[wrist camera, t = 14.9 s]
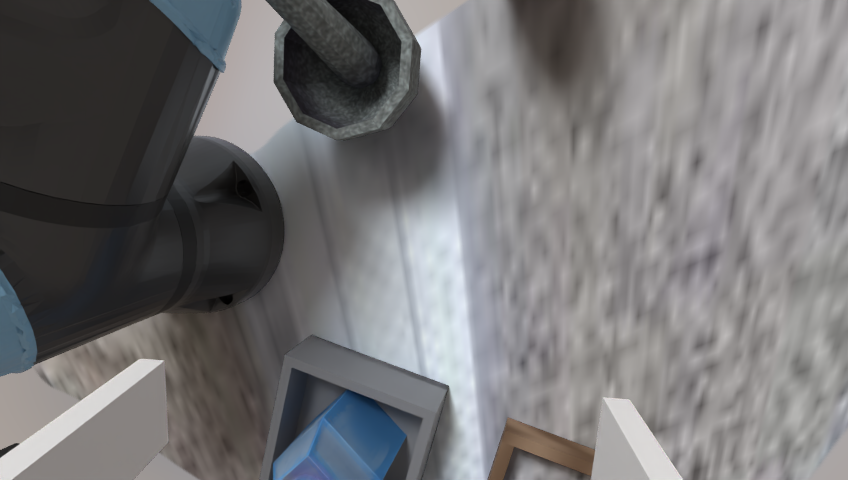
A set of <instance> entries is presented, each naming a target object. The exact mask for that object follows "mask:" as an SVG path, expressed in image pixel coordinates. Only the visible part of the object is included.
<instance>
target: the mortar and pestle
mask: <svg viewBox="0 0 848 480" xmlns="http://www.w3.org/2000/svg"><path fill="white" fill-rule="evenodd" d="M266 1H267V2H268V3H269V4H270V5H271V6H272V7H273V9H274V10H275V11H276V12H277V13H278V14H279V15H280V16H281V17H282V18H283V19H284V21H283V22H282V24H281V25H280V27H279V28H278V30H277V31H276V33H275V50H274V52H275V53H274V84H275V85H276V87H277V89H278V90H279V92H280V94H281V96H282V98H283V99H284V101H285V103H286V104H287V106H288V108H289V109H290V111H291V113H292V115H293V117H294V118H295V120H296V122H298V123H300V124H302V125H304V126H306V127H309V128H311V129H313V130H315V131H317V132H319V133H322V134H324V135H326V136H328V137H330V138H333V139H335V140H343V141H344V140H348V139H352V138H356V137H360V136H364V135H367V134H371V133H375V132H379V131H383V130H386V129H389V128H391V127H392V126H393V125H394V123H395V122H396V121H397V120H398V118H399V117H400V116H401V114H402V113H403V112H404V111H405V109H406V108H407V107H408V106H409V104H410V103H411V102H412V101H413V99H414V98H415V97H416V95H417V94H418V82H419V70H420V57H421V48H420V45H419V43H418V42H417V40H416V38H415V36H414V35H413V33H412V31H411V29H410V28H409V26H408V24H407V22H406V20H405V19H404V17H403V15H402V13H401V12H400V10H399V8H398V6H397V5H396V3H395V1H394V0H266Z"/></svg>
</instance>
